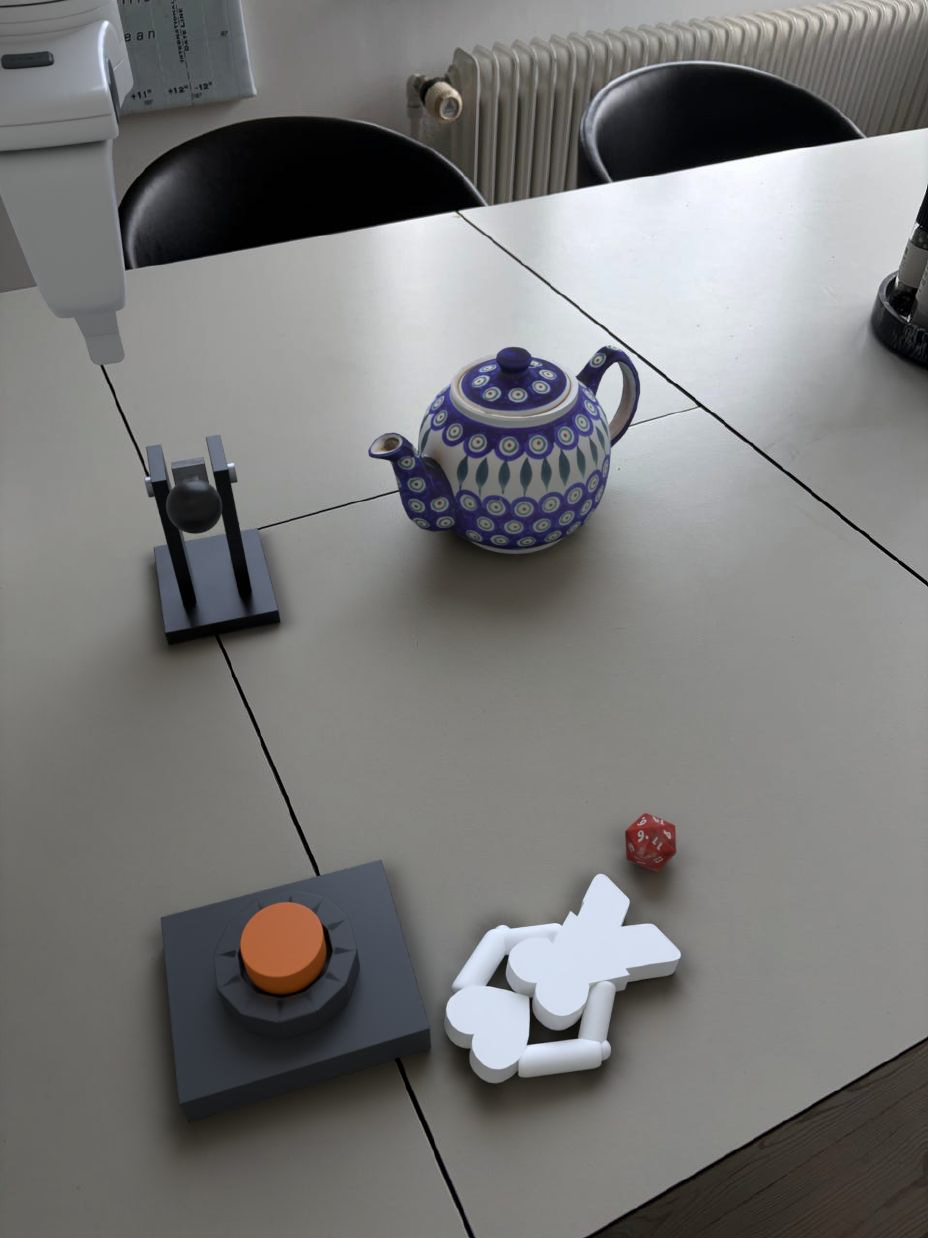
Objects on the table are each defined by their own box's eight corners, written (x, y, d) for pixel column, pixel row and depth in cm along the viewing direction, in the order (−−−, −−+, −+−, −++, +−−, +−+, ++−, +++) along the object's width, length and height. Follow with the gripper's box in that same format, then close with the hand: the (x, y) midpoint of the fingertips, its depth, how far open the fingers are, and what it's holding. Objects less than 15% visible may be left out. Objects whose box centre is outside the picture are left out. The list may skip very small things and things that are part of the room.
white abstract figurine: (410, 987, 52) (413, 964, 50) (581, 879, 58) (587, 856, 57) (519, 1132, 47) (524, 1111, 45) (693, 997, 53) (703, 975, 51)
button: (251, 1005, 48) (246, 987, 47) (240, 932, 51) (234, 914, 50) (333, 981, 49) (330, 964, 48) (317, 911, 52) (314, 893, 50)
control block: (187, 1123, 48) (170, 1088, 45) (168, 938, 55) (153, 898, 52) (431, 1048, 50) (429, 1011, 47) (383, 881, 57) (379, 840, 54)
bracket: (280, 622, 73) (257, 489, 65) (168, 645, 71) (129, 511, 63) (259, 539, 80) (236, 410, 72) (156, 558, 78) (120, 428, 70)
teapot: (578, 428, 91) (592, 271, 81) (688, 513, 82) (719, 347, 72) (331, 518, 82) (312, 352, 71) (424, 625, 72) (418, 453, 62)
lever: (228, 533, 59) (217, 479, 58) (172, 543, 58) (160, 489, 57) (219, 494, 71) (209, 449, 70) (172, 503, 70) (162, 457, 69)
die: (680, 847, 59) (688, 817, 57) (662, 888, 57) (669, 858, 55) (633, 827, 60) (639, 797, 58) (613, 866, 58) (619, 836, 56)
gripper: (-29, 10, 55) (43, 255, 65) (-45, 125, 41) (51, 417, 51) (89, 1, 57) (143, 242, 66) (114, 110, 43) (177, 396, 52)
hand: (103, 319), depth 58 cm, fingers open, 8 cm apart
